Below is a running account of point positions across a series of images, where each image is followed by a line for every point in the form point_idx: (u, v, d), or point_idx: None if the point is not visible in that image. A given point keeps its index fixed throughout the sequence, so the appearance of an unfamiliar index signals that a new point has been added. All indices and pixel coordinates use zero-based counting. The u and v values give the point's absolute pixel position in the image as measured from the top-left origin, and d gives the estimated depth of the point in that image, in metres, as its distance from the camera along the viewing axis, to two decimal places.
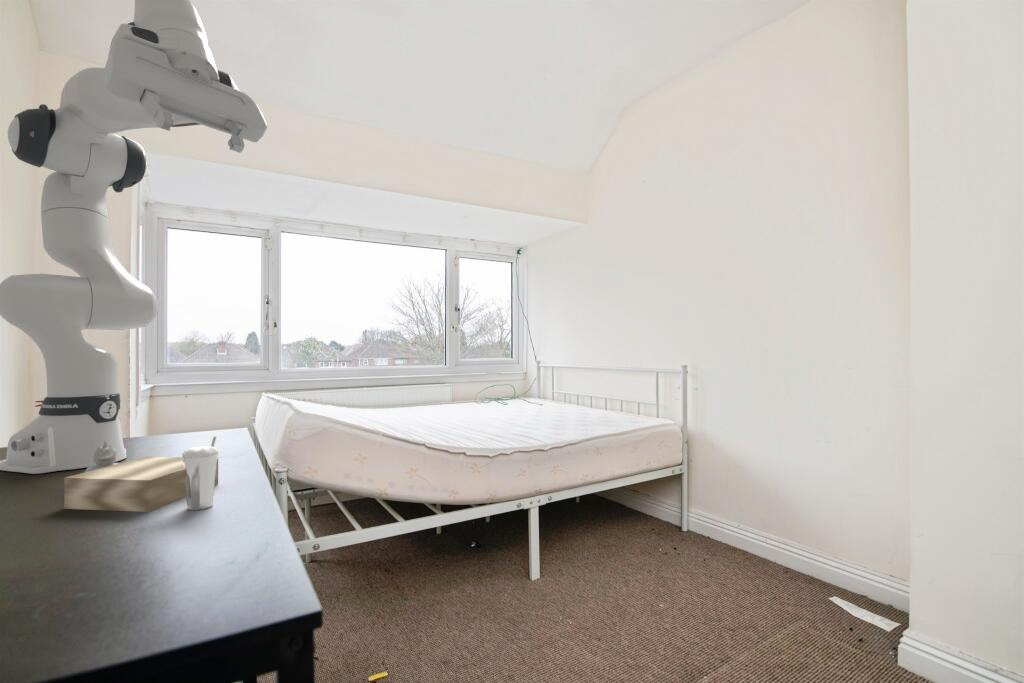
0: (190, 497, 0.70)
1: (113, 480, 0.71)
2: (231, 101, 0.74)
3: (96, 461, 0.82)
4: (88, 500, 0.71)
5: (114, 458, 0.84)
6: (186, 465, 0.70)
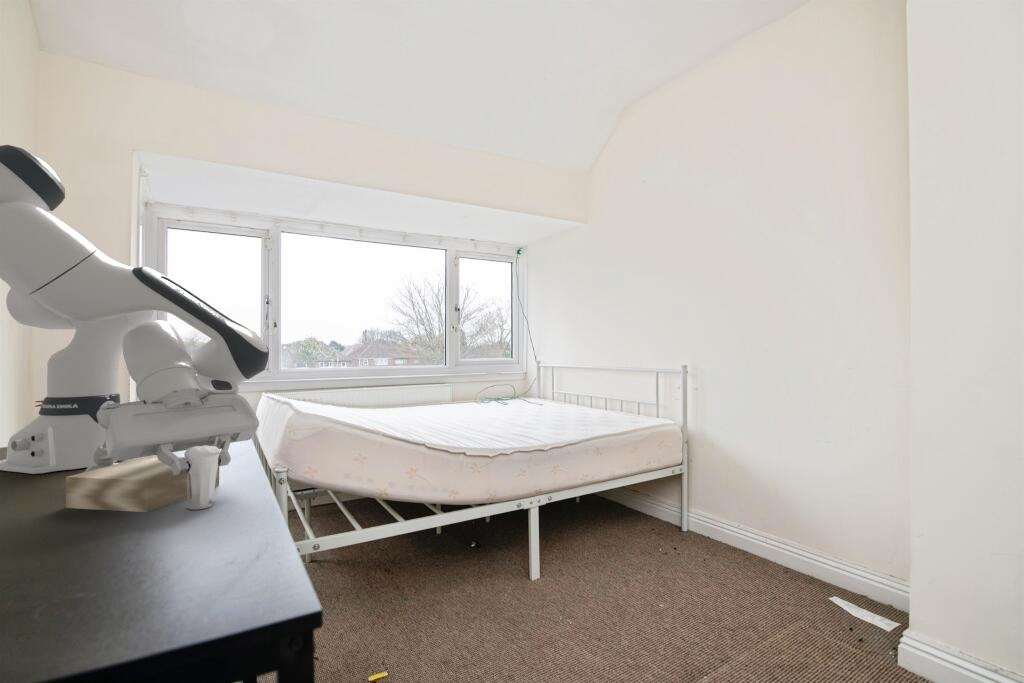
0: (190, 496, 0.70)
1: (112, 480, 0.71)
2: None
3: (96, 461, 0.82)
4: (88, 500, 0.71)
5: None
6: (188, 464, 0.70)
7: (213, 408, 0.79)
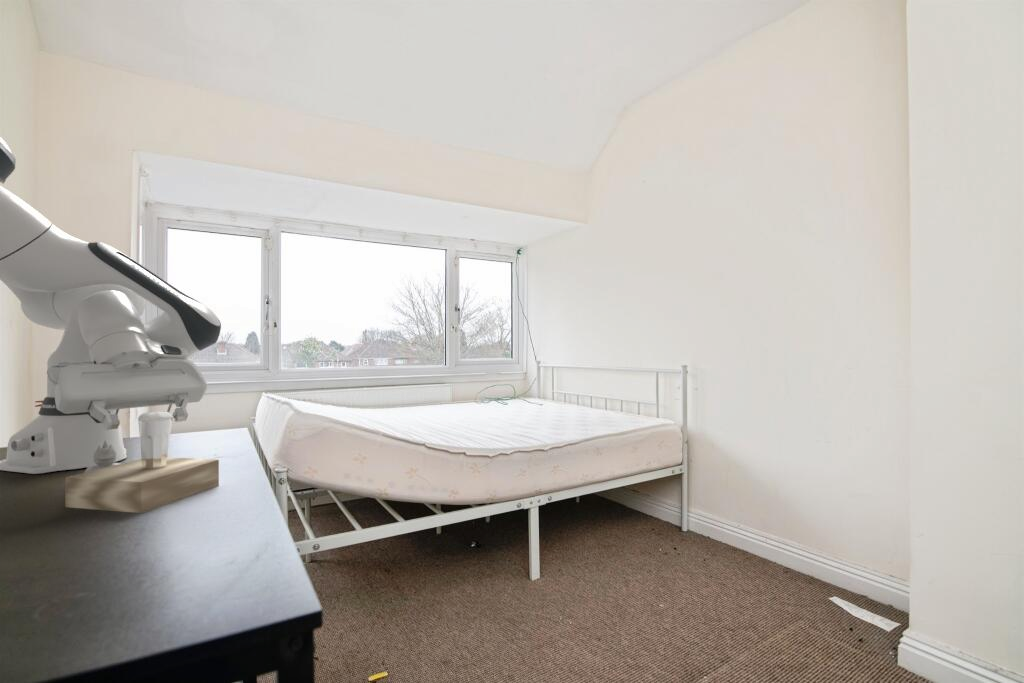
0: (144, 457, 0.77)
1: (109, 481, 0.71)
2: None
3: (96, 461, 0.82)
4: (86, 500, 0.72)
5: (114, 458, 0.84)
6: (141, 427, 0.77)
7: (161, 370, 0.84)
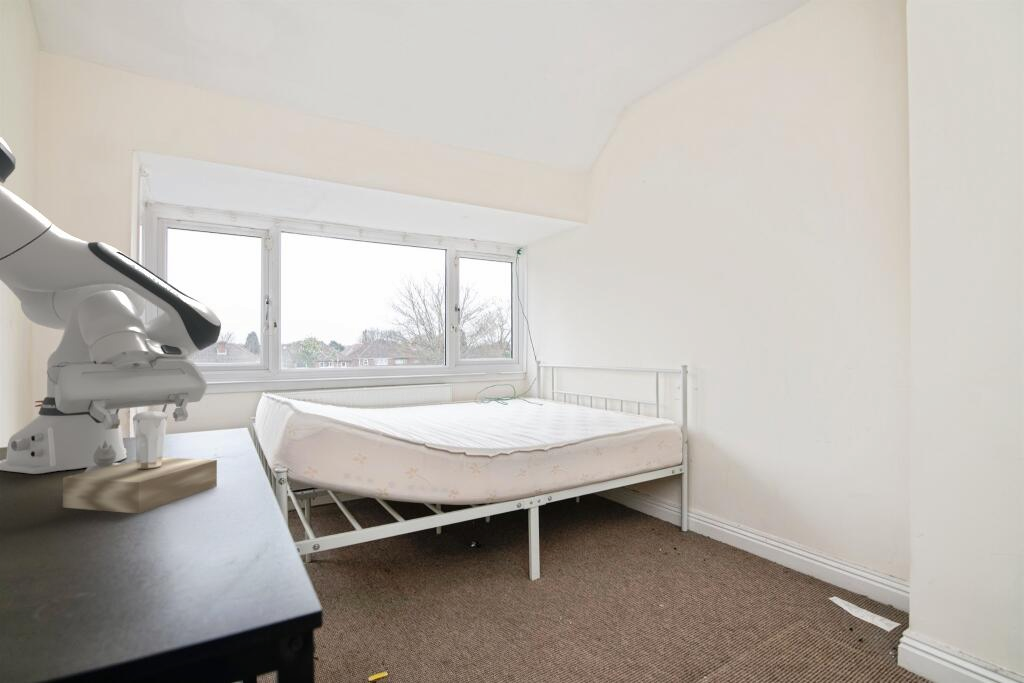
0: (139, 456, 0.76)
1: (106, 481, 0.71)
2: None
3: (96, 461, 0.82)
4: (84, 501, 0.71)
5: (114, 458, 0.84)
6: (136, 427, 0.77)
7: (162, 370, 0.84)
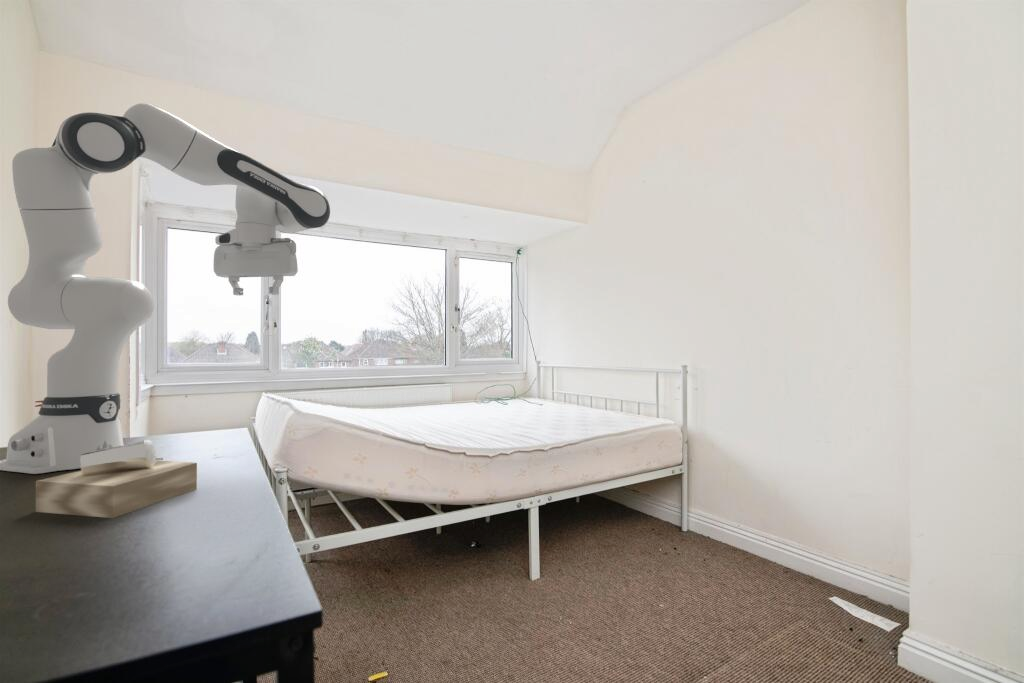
0: (97, 456, 0.73)
1: (80, 485, 0.69)
2: (270, 259, 1.16)
3: None
4: (57, 505, 0.70)
5: None
6: (136, 446, 0.76)
7: None
